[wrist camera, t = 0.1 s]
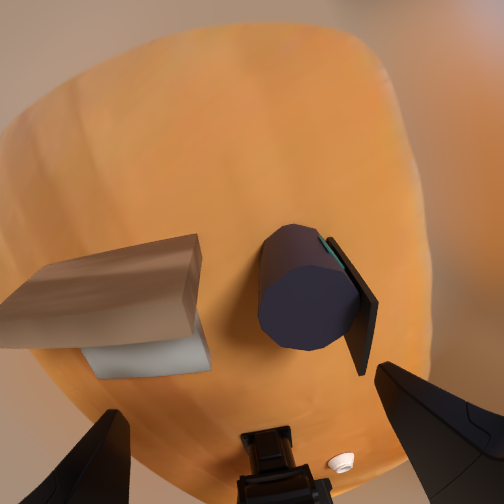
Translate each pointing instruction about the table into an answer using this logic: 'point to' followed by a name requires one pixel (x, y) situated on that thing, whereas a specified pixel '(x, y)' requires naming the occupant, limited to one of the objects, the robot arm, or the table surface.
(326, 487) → the portable radio
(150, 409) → the table surface
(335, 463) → the lidless jar
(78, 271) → the wall board
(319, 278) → the dark grey mug
